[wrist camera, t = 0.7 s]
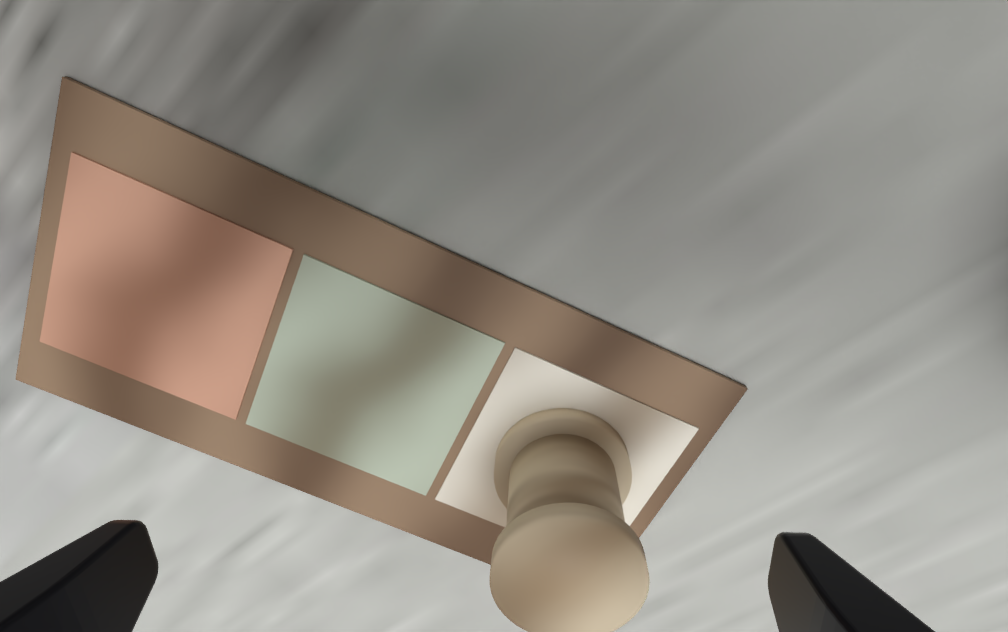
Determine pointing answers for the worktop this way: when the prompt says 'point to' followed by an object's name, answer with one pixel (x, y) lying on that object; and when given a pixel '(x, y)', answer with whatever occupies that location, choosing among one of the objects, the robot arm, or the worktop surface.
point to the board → (321, 335)
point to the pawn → (566, 526)
